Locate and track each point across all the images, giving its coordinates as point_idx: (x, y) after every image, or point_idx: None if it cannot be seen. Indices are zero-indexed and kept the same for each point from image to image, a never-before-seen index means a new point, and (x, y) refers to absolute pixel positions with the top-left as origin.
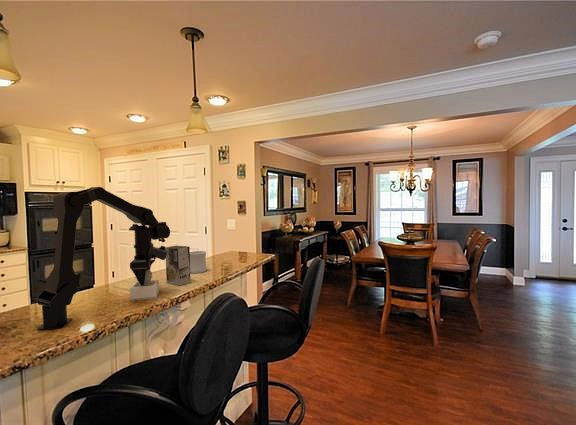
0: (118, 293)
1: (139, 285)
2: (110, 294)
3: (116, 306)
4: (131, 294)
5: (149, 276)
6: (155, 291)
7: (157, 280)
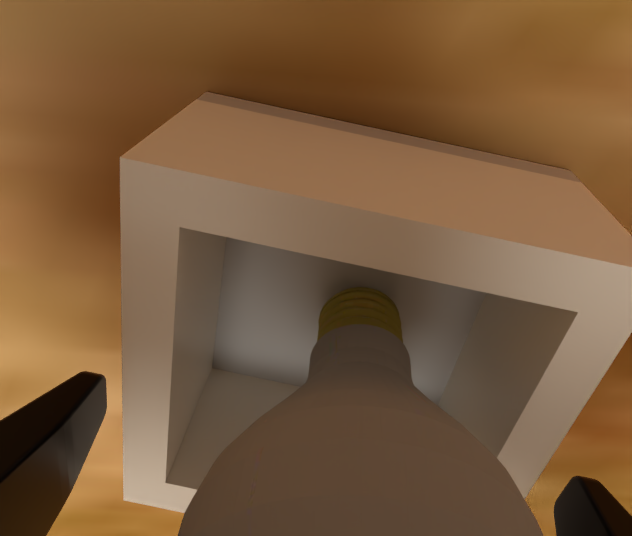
0: (100, 475)
1: (187, 414)
2: (111, 518)
3: (543, 512)
4: None
5: (528, 524)
6: (612, 224)
7: (162, 189)
